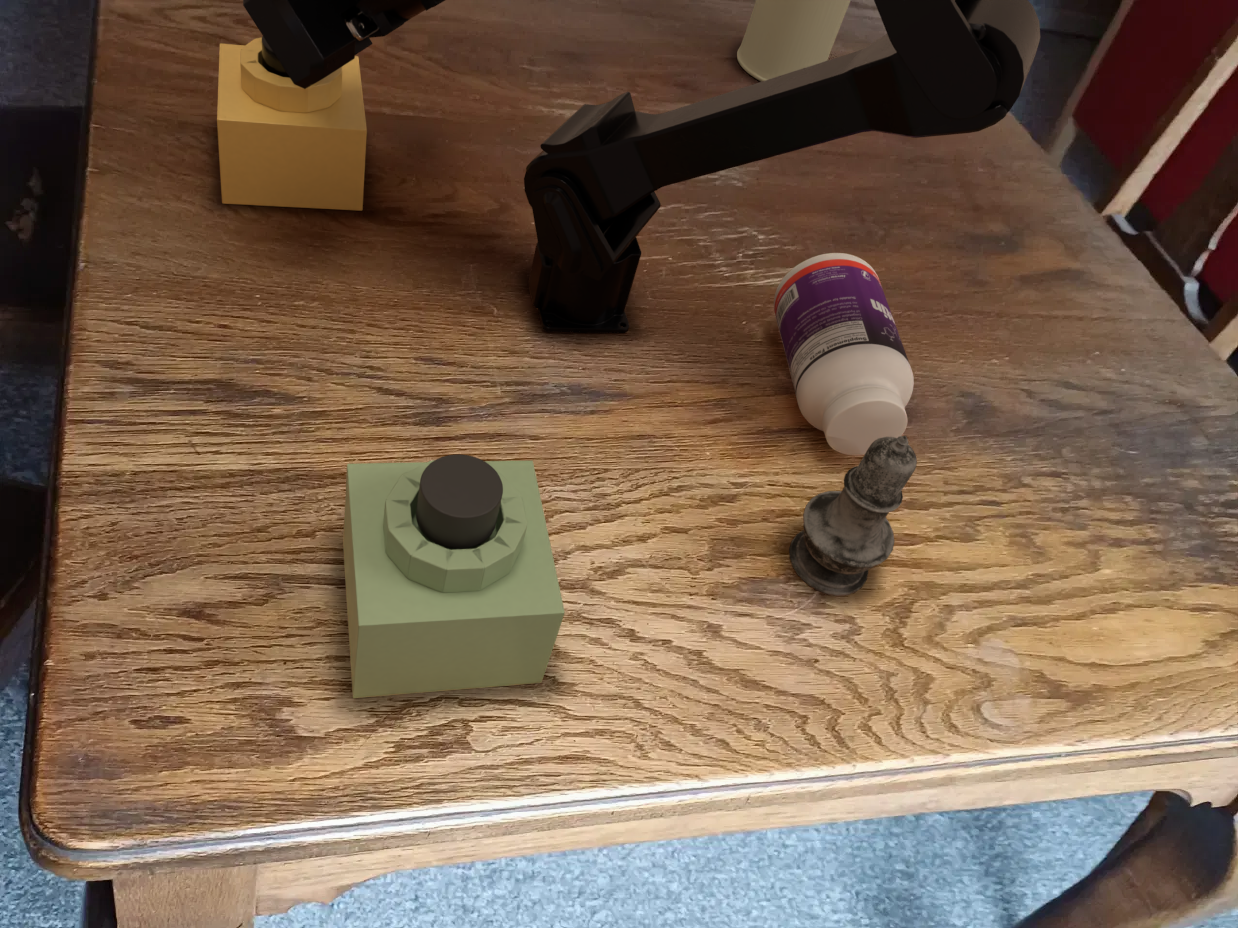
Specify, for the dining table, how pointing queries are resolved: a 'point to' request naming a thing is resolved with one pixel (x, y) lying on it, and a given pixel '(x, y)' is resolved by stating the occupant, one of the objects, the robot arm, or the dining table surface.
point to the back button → (271, 60)
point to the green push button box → (445, 588)
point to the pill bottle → (843, 351)
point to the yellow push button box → (289, 135)
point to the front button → (458, 501)
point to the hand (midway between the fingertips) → (290, 36)
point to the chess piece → (853, 520)
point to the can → (789, 35)
